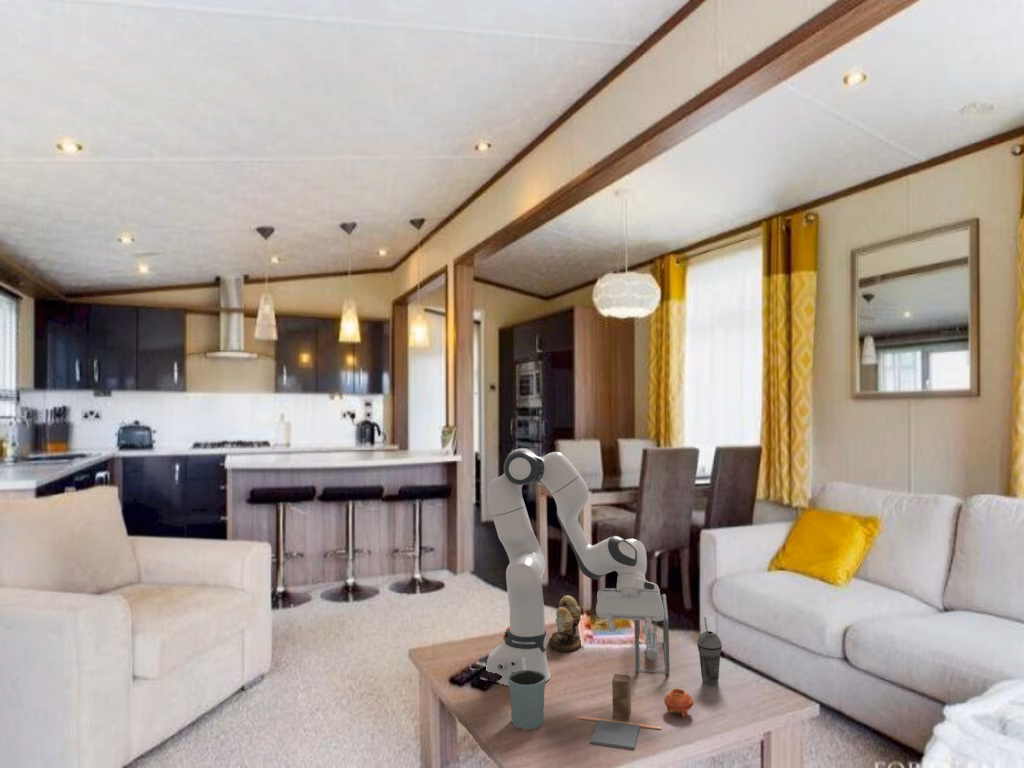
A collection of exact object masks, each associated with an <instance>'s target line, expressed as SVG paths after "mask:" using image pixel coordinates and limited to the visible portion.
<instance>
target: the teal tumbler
mask: <svg viewBox="0 0 1024 768" xmlns="http://www.w3.org/2000/svg"><path fill="white" fill-rule="evenodd" d="M508 680H509V686H508V688H509V694H510V695H509V701H510V702H509V703H510V713H511V714H510V715H511V716H510V717H511V723H513V724H514V725H515V726H516V727H515V726H514V725H513V724H512V725H513V726H514V727H515V728H517V727H518V728H517V729H519V728H521V729H520V730H524V729H531V730H535V729H538V728H539V727H541V726H543V723H544V716H545V714H544V713H545V712H544V707H545V689H546V682H545V680H546V677H545V675H544V674H543V673H541V672H538V671H533V670H521V671H517V672H514V673H512V674H510V675H509V677H508Z"/></svg>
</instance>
